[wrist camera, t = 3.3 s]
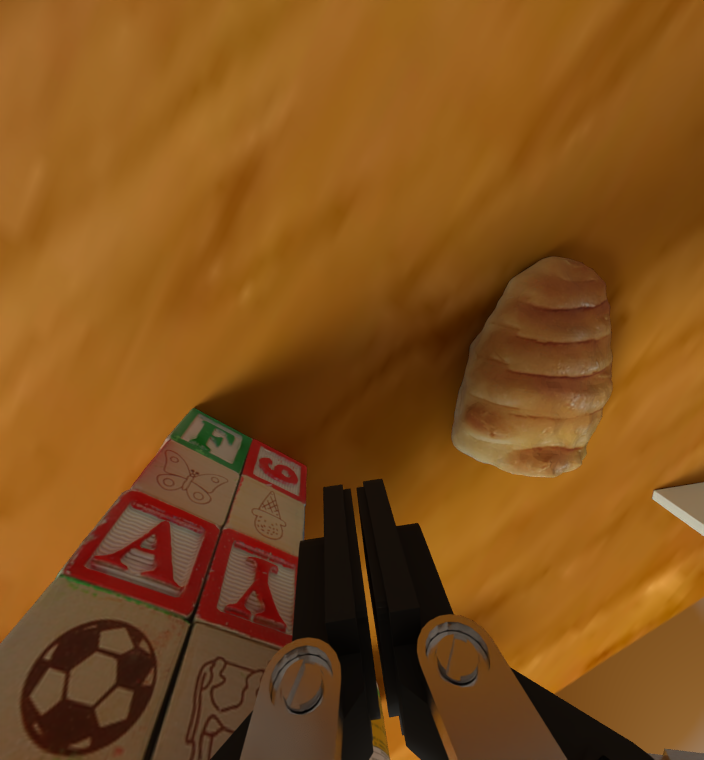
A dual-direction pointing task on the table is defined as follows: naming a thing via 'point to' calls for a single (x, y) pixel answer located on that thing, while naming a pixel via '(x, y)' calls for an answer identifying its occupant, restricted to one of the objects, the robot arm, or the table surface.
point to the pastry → (538, 372)
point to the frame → (684, 503)
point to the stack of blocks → (162, 609)
